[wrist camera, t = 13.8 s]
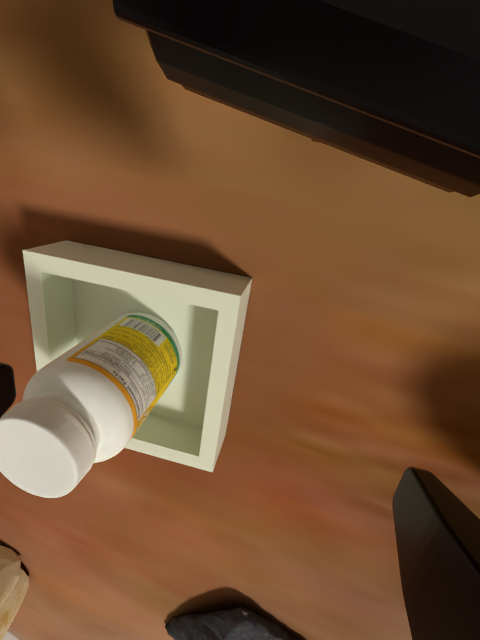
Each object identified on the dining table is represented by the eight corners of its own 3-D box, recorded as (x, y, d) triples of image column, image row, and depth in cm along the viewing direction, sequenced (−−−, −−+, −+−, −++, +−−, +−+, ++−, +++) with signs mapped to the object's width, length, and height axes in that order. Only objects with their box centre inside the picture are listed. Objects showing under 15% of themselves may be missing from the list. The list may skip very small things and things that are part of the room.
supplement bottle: (168, 302, 20) (56, 395, 11) (195, 379, 21) (116, 510, 13) (94, 318, 21) (-56, 410, 13) (125, 388, 23) (11, 512, 14)
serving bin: (66, 240, 21) (22, 250, 17) (252, 277, 19) (240, 296, 16) (76, 394, 25) (43, 424, 22) (225, 434, 24) (212, 472, 21)
